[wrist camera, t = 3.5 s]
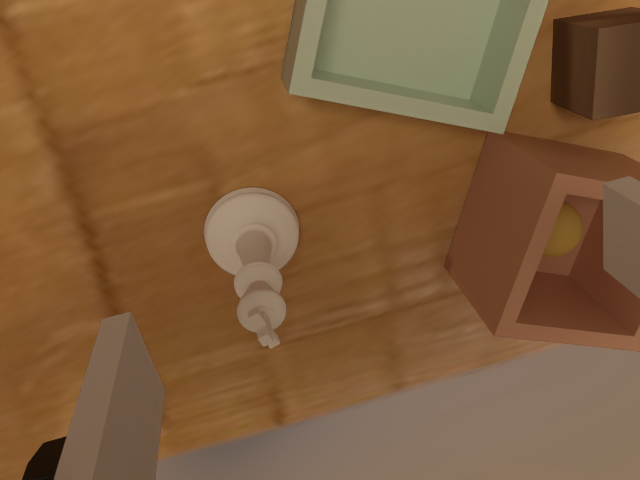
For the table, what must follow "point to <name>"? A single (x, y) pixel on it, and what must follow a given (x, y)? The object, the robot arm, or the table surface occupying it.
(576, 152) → the square terracotta box
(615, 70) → the walnut block
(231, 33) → the table surface
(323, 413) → the table surface
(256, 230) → the chess piece
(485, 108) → the green tray
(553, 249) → the yellow ball
